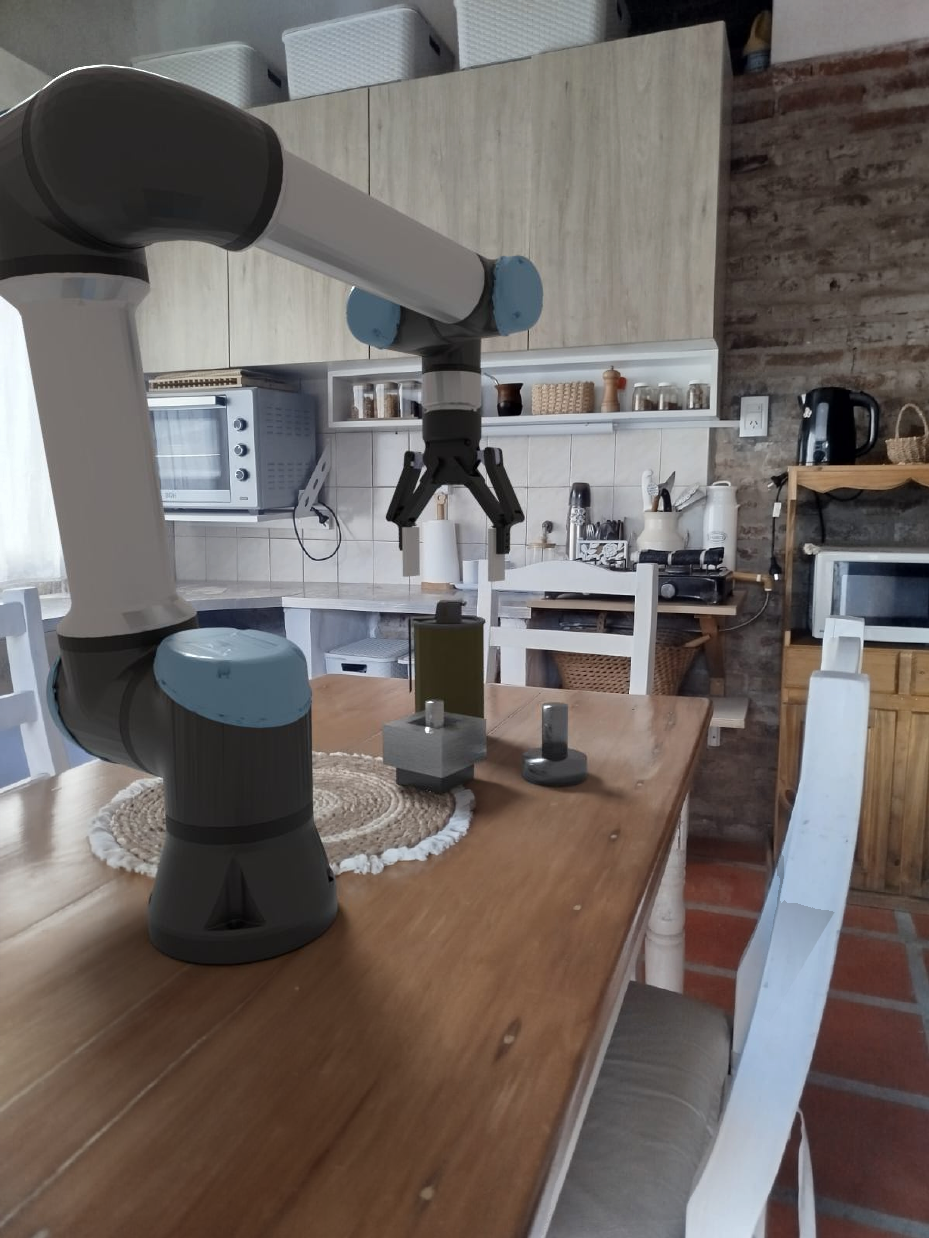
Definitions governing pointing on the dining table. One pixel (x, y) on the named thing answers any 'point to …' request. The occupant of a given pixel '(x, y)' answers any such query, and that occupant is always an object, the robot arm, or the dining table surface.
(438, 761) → the grey square ring block
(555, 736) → the cylinder
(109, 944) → the dining table surface
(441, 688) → the canister
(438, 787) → the stand
